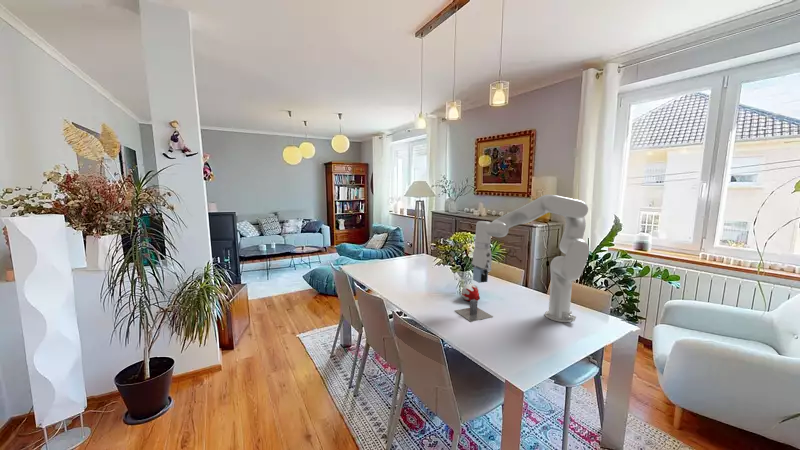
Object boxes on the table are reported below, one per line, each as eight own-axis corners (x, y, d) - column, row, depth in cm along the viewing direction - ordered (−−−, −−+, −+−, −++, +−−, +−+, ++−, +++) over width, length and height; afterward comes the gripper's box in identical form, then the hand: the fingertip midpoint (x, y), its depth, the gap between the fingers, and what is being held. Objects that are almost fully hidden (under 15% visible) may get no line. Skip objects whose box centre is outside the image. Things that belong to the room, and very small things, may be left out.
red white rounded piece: (471, 293, 188) (486, 305, 174) (455, 295, 184) (469, 307, 170) (472, 280, 186) (488, 290, 172) (456, 281, 182) (471, 293, 168)
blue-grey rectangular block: (487, 281, 156) (488, 269, 155) (479, 282, 154) (479, 270, 153) (480, 278, 161) (481, 266, 160) (472, 279, 159) (473, 267, 158)
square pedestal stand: (493, 317, 155) (493, 303, 154) (470, 321, 150) (471, 307, 149) (475, 307, 168) (476, 294, 167) (454, 311, 162) (454, 297, 162)
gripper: (499, 248, 149) (497, 284, 151) (478, 242, 164) (475, 274, 167) (487, 249, 146) (484, 285, 148) (466, 242, 161) (464, 276, 164)
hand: (480, 279), depth 157 cm, fingers closed on blue-grey rectangular block, 5 cm apart
